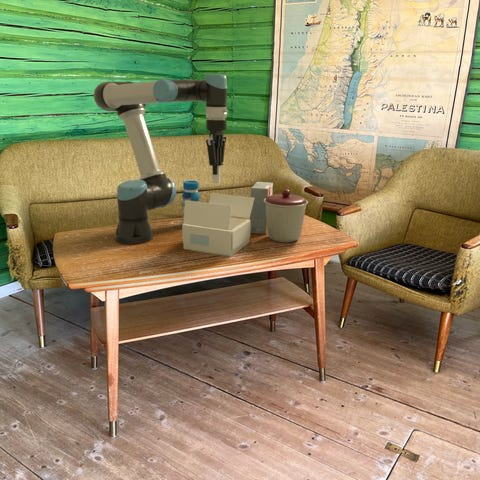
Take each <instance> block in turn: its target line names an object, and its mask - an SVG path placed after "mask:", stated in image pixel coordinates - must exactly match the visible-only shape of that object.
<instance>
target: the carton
mask: <svg viewBox="0 0 480 480" xmlns="http://www.w3.org/2000/svg"><path fill="white" fill-rule="evenodd" d="M250 224H251V220H250V218H241V217H234V216H231V220H230V230H223V229H216V228H209V227H202V226H195V225H188V224H183V223H181V226H182V228H181V229H182V243H183V250H186V251H192V252H198V253H203V254H204V253H205V254H210V255H216V256H222V257H228V258H231V257H233V256H234V255H236V254H237V253H238V252H239V251H241V250H242V249H244V248H245V247H246V246H247V245H249V243H250V238H251V233H250Z"/></svg>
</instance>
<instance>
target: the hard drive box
mask: <svg viewBox="0 0 480 480" xmlns="http://www.w3.org/2000/svg"><path fill="white" fill-rule="evenodd" d="M273 187H274V183H273V182H267V181H257V182H255V183H254V184H253V186H252V187H250V197H253V198H254V202H253V206H252V210H251V214H250V217H249V220H251V224H250V234H260V235H261V234H262V235H266V234H268V231H267V220H266V207H265V202H264V199H265V198H267V197H268V196H271V195H273Z"/></svg>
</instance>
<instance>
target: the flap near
mask: <svg viewBox="0 0 480 480" xmlns="http://www.w3.org/2000/svg"><path fill="white" fill-rule="evenodd" d="M231 210H232V206H229V205H221V204H212V203H209V202H203V201H202V202H196V201H188V200H185V207H184V219H183V218H182V224H188V225H195V226H202V227H209V228H216V229H223V230H230V220H231V217H232V216H231Z"/></svg>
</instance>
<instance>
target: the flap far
mask: <svg viewBox="0 0 480 480" xmlns="http://www.w3.org/2000/svg"><path fill="white" fill-rule="evenodd" d="M253 202H254V198H253V197H251V196H243V195H234V194H224V193H218V192H217V193H216V192H211V194H210V198H209V201H208V203H212V204H221V205H229V206H232V210H231V217H234V218H241V219H250V214H251V210H252V206H253Z"/></svg>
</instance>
